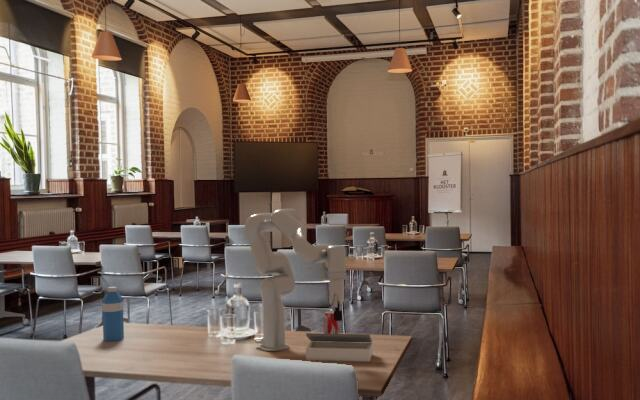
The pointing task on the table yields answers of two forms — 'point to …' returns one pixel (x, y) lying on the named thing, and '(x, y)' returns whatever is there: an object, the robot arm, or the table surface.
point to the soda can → (330, 323)
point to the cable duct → (339, 351)
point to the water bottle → (113, 315)
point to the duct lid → (339, 337)
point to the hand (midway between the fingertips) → (338, 320)
